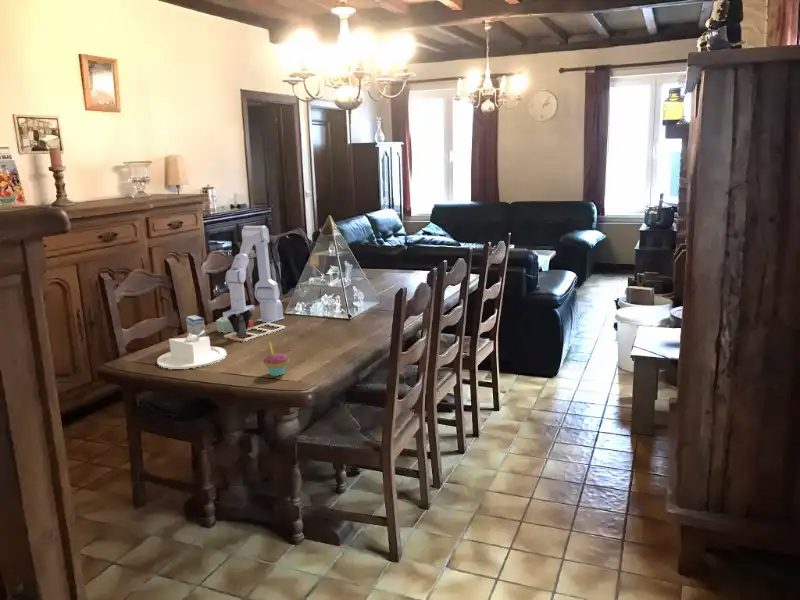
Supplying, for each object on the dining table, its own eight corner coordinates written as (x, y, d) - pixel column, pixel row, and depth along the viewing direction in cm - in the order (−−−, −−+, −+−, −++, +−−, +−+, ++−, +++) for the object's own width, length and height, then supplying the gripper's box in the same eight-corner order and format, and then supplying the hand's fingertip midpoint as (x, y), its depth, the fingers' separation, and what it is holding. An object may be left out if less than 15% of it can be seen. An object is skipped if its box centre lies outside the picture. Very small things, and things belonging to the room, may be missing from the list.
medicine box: (187, 336, 277) (185, 316, 275) (197, 334, 279) (195, 314, 277) (196, 340, 271) (193, 320, 269) (206, 338, 274) (204, 317, 272)
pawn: (244, 333, 274) (242, 312, 272) (247, 335, 271) (245, 314, 269) (235, 335, 272) (233, 314, 270) (238, 337, 269) (236, 316, 267)
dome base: (230, 326, 290) (228, 315, 289) (244, 329, 284) (242, 318, 283) (214, 330, 284) (212, 319, 283) (228, 334, 278) (226, 322, 277)
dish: (238, 350, 256) (235, 322, 253) (202, 372, 232) (198, 341, 230) (183, 347, 263) (180, 320, 260) (143, 368, 239) (138, 338, 237)
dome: (230, 324, 288) (229, 314, 287) (238, 326, 284) (237, 316, 283) (218, 327, 283) (217, 318, 282) (227, 329, 280) (226, 319, 279)
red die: (247, 326, 288) (246, 319, 288) (253, 326, 287) (253, 319, 287) (243, 328, 285) (242, 321, 285) (250, 328, 284) (249, 321, 284)
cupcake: (261, 377, 223) (258, 343, 221) (269, 369, 232) (266, 336, 229) (286, 378, 222) (283, 343, 219) (293, 369, 230) (290, 336, 228)
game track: (266, 324, 290) (266, 322, 290) (286, 328, 282) (286, 326, 282) (224, 337, 273) (223, 335, 273) (243, 342, 265) (243, 339, 265)
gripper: (245, 293, 276) (248, 325, 279) (216, 301, 265) (220, 333, 268) (256, 295, 272) (259, 327, 275) (227, 303, 261) (231, 336, 264)
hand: (241, 330), depth 271 cm, fingers closed on pawn, 4 cm apart
